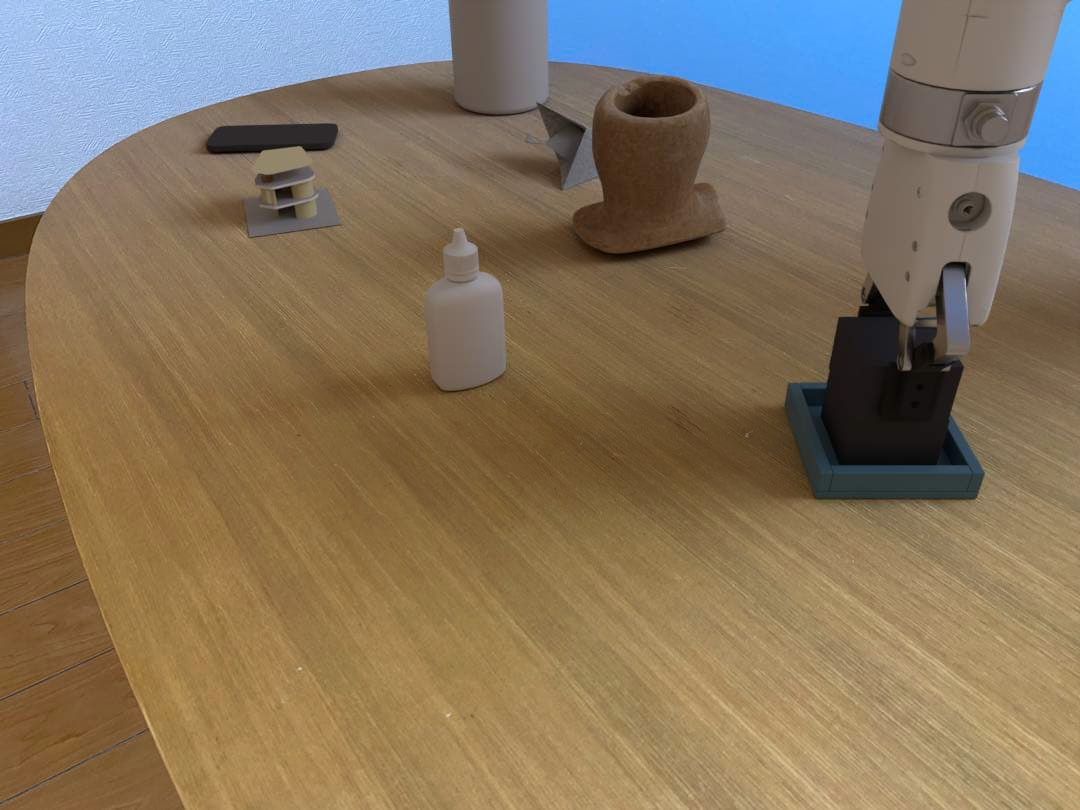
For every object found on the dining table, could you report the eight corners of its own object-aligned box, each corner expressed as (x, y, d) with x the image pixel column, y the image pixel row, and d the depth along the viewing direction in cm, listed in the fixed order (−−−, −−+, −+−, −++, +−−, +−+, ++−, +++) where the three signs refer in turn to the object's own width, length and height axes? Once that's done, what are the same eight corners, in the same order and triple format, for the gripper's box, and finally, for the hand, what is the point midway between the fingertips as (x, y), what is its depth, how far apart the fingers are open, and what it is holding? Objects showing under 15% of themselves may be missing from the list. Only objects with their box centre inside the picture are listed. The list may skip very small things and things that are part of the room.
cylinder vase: (567, 99, 126) (567, -112, 112) (501, 123, 119) (492, -100, 104) (502, 82, 133) (494, -119, 119) (436, 103, 126) (419, -109, 111)
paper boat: (626, 174, 101) (552, 167, 96) (598, 210, 106) (526, 205, 101) (596, 88, 105) (524, 77, 101) (570, 126, 110) (500, 118, 106)
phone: (331, 143, 111) (203, 146, 110) (332, 150, 111) (204, 153, 111) (338, 122, 117) (217, 125, 116) (339, 129, 117) (218, 132, 117)
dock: (926, 406, 67) (932, 381, 66) (977, 499, 59) (985, 473, 58) (783, 406, 67) (787, 382, 66) (815, 499, 59) (820, 473, 58)
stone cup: (605, 278, 84) (610, 111, 75) (560, 226, 93) (559, 71, 84) (755, 252, 88) (776, 90, 79) (698, 204, 97) (711, 54, 88)
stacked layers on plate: (243, 199, 100) (232, 149, 96) (327, 188, 102) (320, 138, 99) (249, 237, 92) (238, 184, 89) (341, 224, 94) (333, 172, 91)
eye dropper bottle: (435, 361, 73) (421, 217, 66) (507, 360, 73) (501, 216, 66) (429, 393, 69) (414, 244, 62) (505, 392, 69) (498, 243, 62)
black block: (918, 368, 63) (932, 316, 60) (948, 421, 58) (964, 366, 56) (828, 368, 63) (838, 316, 61) (850, 421, 58) (862, 366, 56)
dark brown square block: (907, 415, 65) (919, 367, 63) (935, 470, 60) (950, 420, 58) (820, 416, 65) (829, 367, 63) (841, 470, 60) (852, 420, 58)
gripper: (1104, 166, 43) (998, 473, 53) (969, 61, 57) (906, 320, 67) (938, 166, 43) (864, 473, 53) (844, 62, 57) (800, 320, 67)
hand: (888, 385), depth 60 cm, fingers closed on black block, 6 cm apart
